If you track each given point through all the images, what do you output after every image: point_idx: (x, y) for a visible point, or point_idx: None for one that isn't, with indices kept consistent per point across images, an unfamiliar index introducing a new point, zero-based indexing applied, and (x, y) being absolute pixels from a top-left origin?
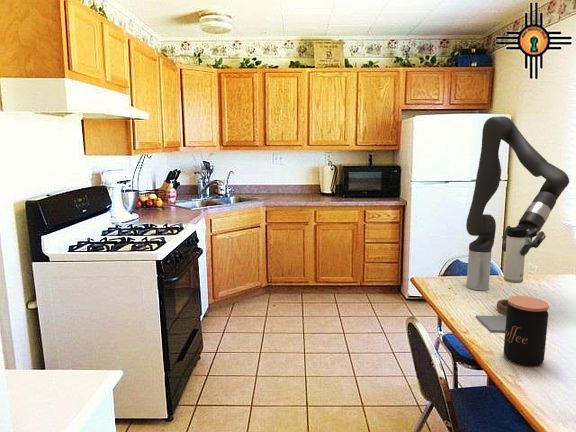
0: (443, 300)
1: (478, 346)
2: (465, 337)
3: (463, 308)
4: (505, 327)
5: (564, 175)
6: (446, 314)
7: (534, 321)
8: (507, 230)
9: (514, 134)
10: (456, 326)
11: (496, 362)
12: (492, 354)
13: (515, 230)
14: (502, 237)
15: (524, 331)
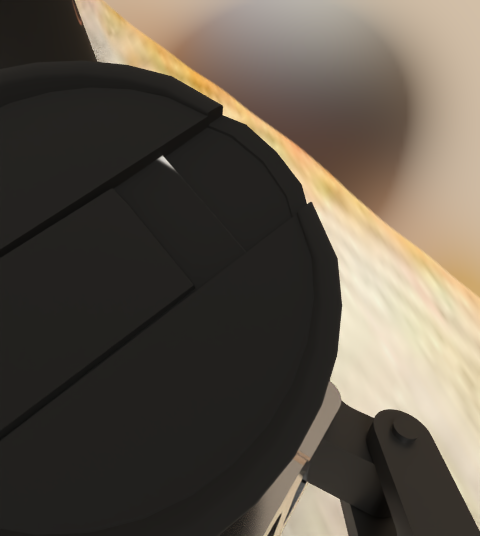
0: (476, 350)
1: (173, 75)
2: (228, 101)
3: (370, 327)
4: (74, 1)
5: None
6: (372, 221)
7: None
8: (292, 184)
9: None
10: (290, 153)
11: (99, 27)
12: (124, 58)
13: (54, 65)
14: (412, 419)
15: None
